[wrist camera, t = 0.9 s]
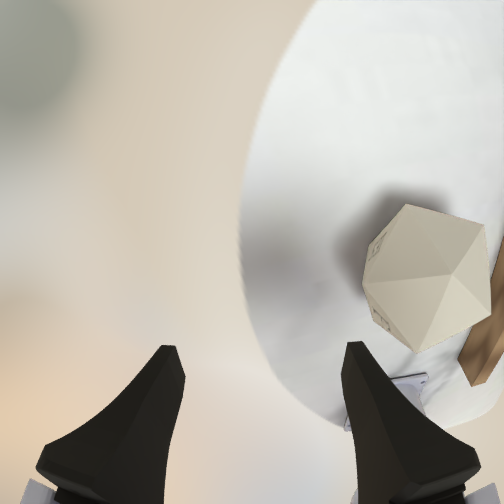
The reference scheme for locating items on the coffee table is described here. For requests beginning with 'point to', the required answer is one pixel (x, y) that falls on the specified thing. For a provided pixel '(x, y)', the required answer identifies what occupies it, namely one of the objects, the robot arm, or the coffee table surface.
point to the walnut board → (486, 333)
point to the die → (427, 277)
